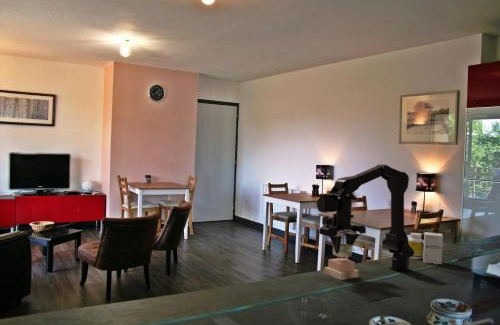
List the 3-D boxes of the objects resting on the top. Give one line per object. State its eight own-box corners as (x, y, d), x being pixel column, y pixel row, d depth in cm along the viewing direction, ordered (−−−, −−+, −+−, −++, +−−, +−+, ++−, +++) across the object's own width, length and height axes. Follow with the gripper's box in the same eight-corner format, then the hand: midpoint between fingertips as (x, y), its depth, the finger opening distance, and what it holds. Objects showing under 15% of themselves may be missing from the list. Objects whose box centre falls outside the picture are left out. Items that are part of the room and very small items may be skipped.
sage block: (342, 253, 161) (343, 243, 161) (351, 256, 157) (352, 245, 157) (332, 254, 159) (333, 244, 159) (341, 257, 154) (342, 246, 154)
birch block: (341, 272, 164) (342, 264, 164) (358, 278, 156) (358, 270, 156) (324, 275, 159) (324, 267, 159) (340, 281, 152) (340, 273, 152)
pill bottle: (423, 259, 187) (424, 235, 187) (409, 258, 188) (410, 234, 188) (420, 256, 193) (421, 233, 193) (406, 255, 195) (407, 232, 194)
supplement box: (423, 263, 181) (424, 234, 181) (423, 259, 188) (424, 231, 188) (441, 265, 178) (443, 235, 178) (441, 261, 185) (442, 233, 185)
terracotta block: (342, 265, 163) (343, 257, 163) (354, 270, 156) (354, 262, 156) (328, 267, 160) (328, 259, 160) (339, 271, 153) (339, 263, 153)
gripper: (347, 208, 169) (345, 246, 169) (310, 209, 160) (309, 250, 160) (367, 211, 160) (366, 252, 160) (330, 213, 150) (328, 256, 151)
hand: (342, 252), depth 158 cm, fingers closed on sage block, 5 cm apart
